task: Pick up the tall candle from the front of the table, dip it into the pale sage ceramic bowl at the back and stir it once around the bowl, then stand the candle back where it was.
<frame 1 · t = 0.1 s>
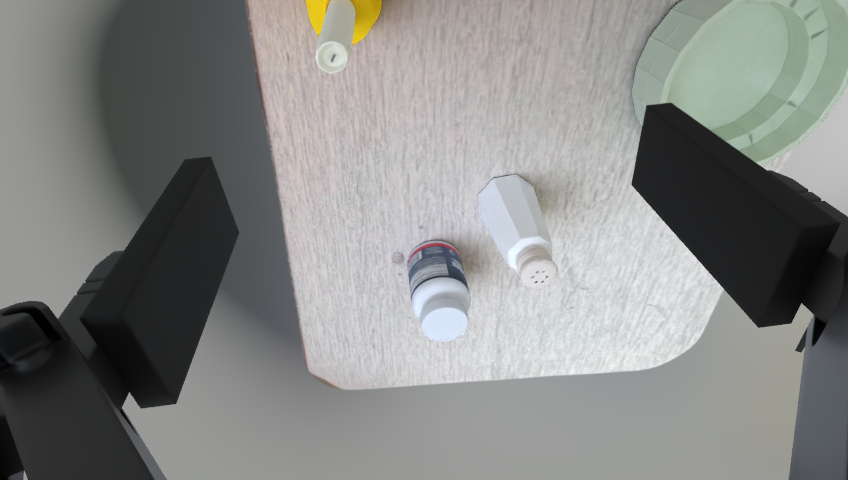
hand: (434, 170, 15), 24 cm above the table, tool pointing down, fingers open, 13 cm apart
pepper shaker: (504, 198, 45), on the table
bowl: (716, 67, 40), on the table
pill bottle: (433, 259, 48), on the table
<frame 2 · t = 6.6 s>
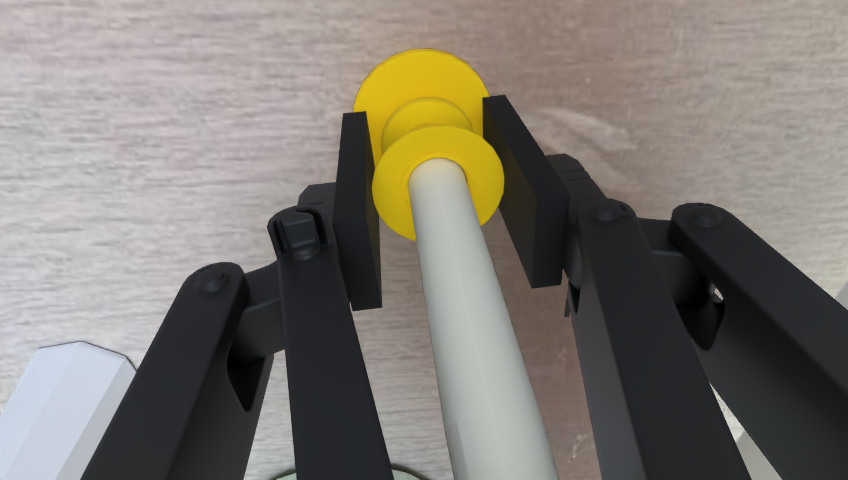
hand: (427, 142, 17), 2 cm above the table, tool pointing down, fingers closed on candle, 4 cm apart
candle: (421, 117, 19), on the table, touching gripper
pepper shaker: (89, 373, 25), on the table
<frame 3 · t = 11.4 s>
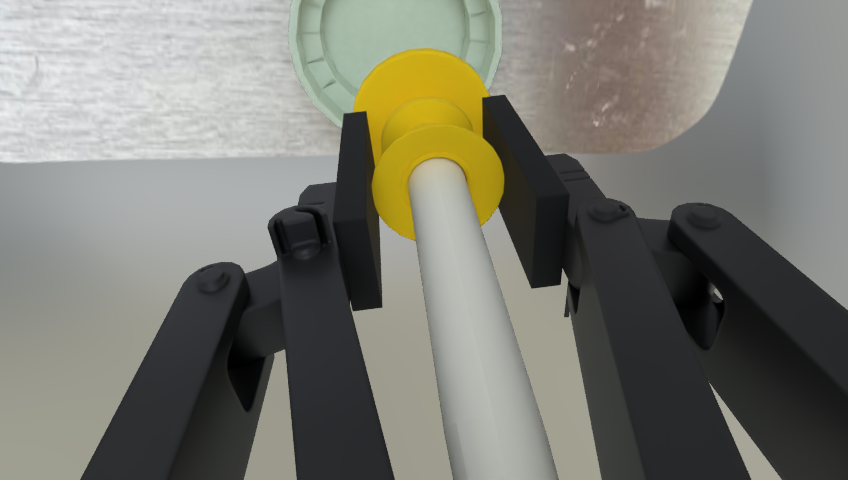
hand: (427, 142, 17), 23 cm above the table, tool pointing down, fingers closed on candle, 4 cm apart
candle: (421, 116, 19), point 21 cm above the table, touching gripper
bowl: (394, 28, 37), on the table
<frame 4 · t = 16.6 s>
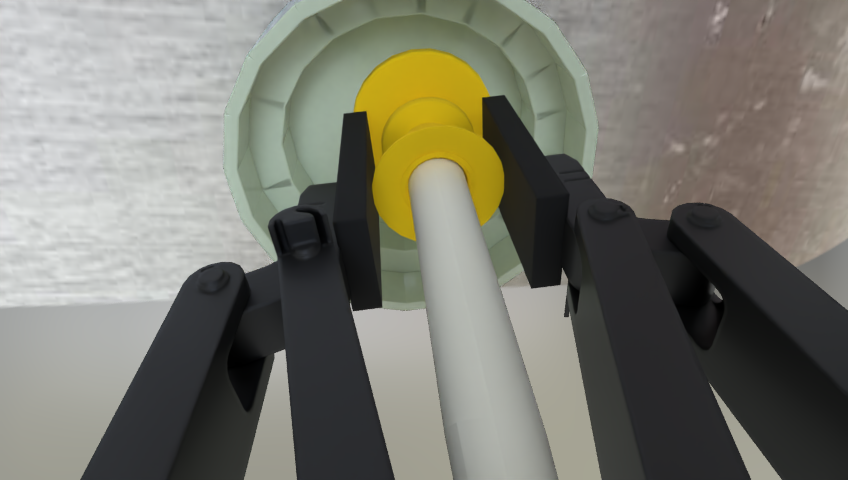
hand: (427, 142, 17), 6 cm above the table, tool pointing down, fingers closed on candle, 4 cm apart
candle: (422, 117, 19), point 4 cm above the table, touching gripper
bowl: (407, 124, 23), on the table
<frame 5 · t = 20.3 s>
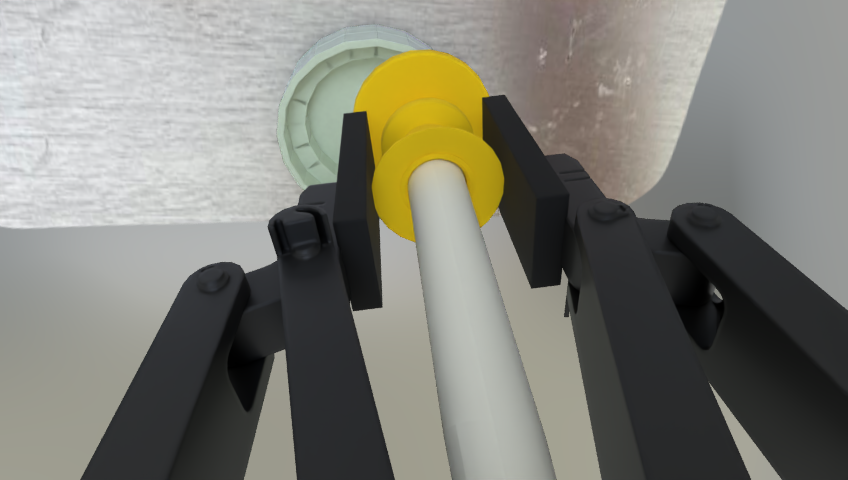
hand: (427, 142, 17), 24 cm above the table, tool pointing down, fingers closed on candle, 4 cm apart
candle: (421, 118, 19), point 22 cm above the table, touching gripper
bowl: (373, 114, 41), on the table
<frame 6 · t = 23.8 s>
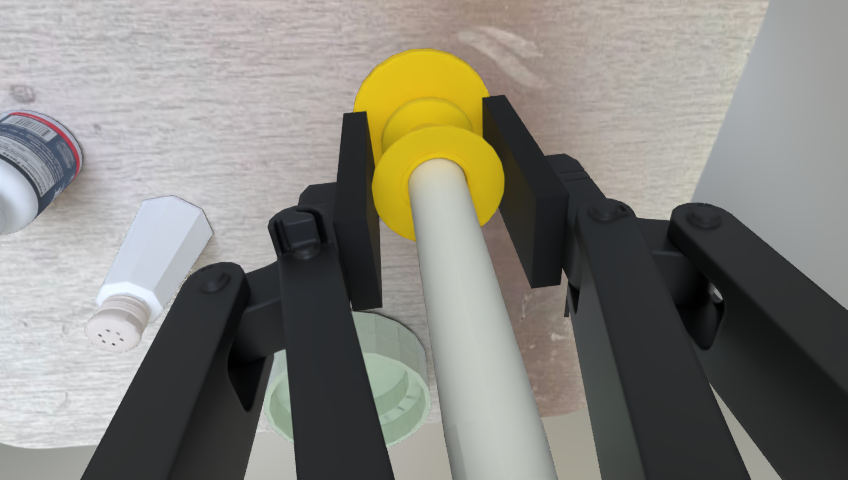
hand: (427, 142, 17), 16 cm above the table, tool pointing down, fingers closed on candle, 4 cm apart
candle: (421, 117, 19), point 14 cm above the table, touching gripper
pepper shaker: (175, 224, 36), on the table
bowl: (350, 362, 46), on the table
pill bottle: (40, 146, 32), on the table
when the fingers open (2 cm above the table, at t = 26.9 s): candle stays where it is, on the table.
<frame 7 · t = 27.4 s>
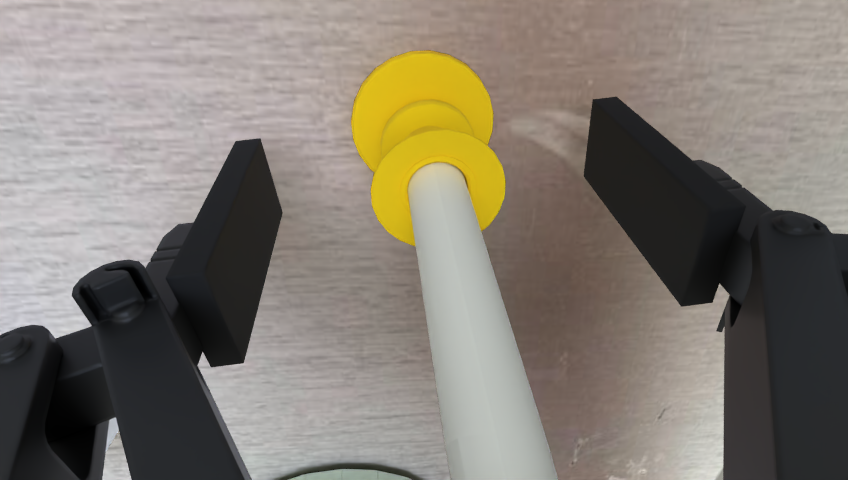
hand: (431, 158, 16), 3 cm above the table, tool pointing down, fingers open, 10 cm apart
candle: (421, 119, 19), on the table
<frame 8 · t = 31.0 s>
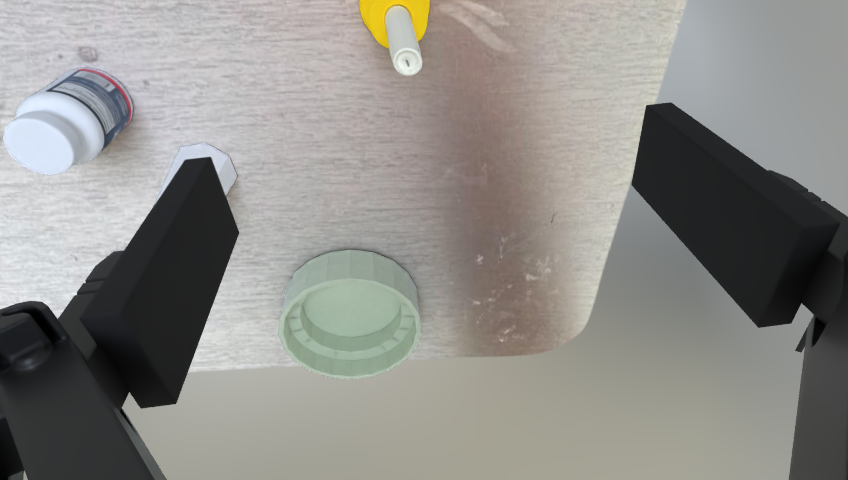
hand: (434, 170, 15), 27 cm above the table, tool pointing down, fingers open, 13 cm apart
candle: (394, 3, 37), on the table
pepper shaker: (205, 169, 43), on the table
bowl: (352, 299, 53), on the table
pill bottle: (99, 99, 39), on the table
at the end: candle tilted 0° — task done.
